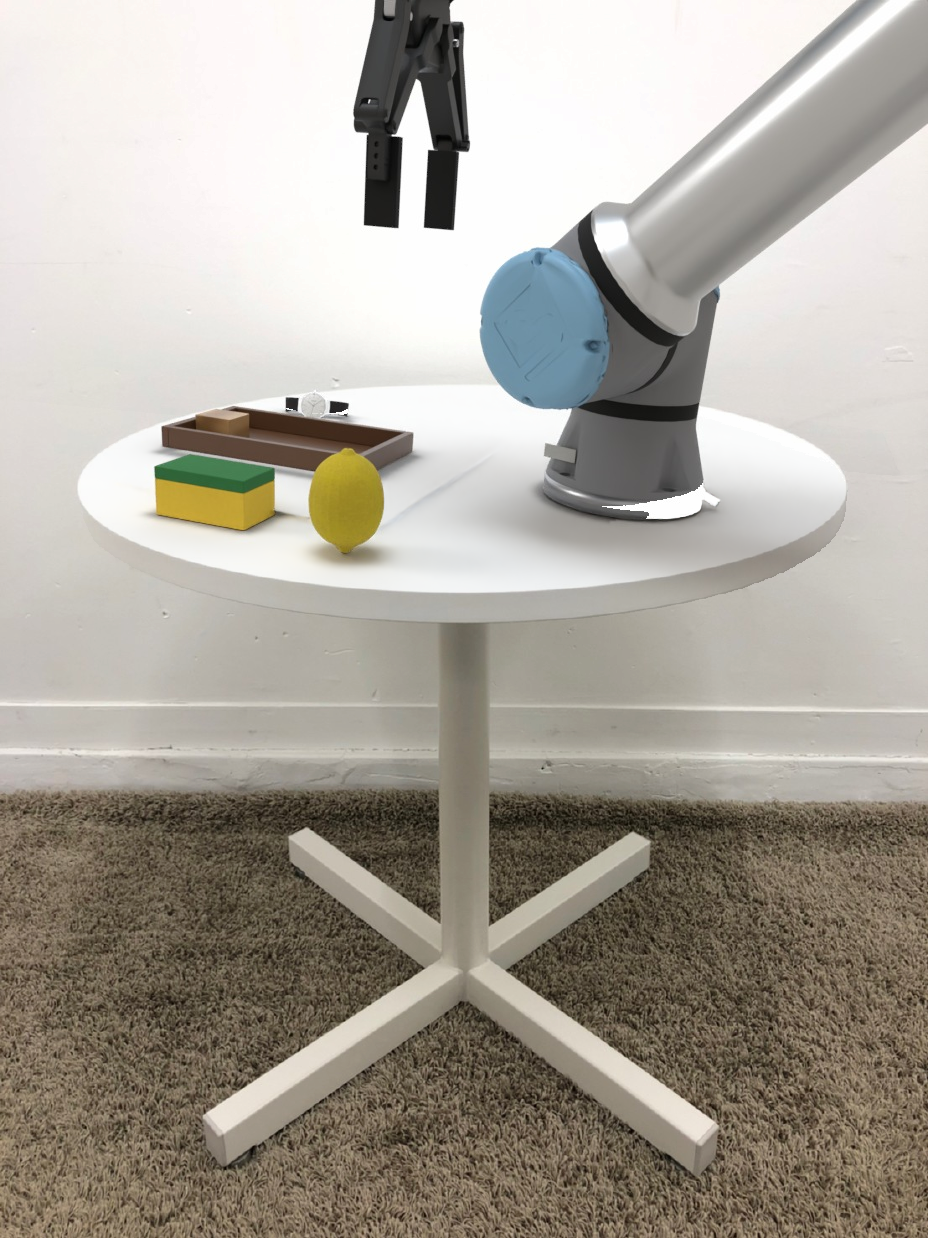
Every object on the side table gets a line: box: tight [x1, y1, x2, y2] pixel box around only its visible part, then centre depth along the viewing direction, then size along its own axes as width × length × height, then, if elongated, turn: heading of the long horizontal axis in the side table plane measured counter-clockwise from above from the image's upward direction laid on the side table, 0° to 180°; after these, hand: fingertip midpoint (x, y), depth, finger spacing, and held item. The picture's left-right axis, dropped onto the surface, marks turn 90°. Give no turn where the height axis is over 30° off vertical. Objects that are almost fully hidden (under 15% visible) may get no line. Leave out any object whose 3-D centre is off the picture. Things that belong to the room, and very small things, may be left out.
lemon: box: [308, 448, 385, 554], centre depth 71 cm, size 6×6×8 cm
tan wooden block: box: [194, 408, 249, 438], centre depth 101 cm, size 4×4×2 cm
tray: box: [161, 405, 414, 473], centre depth 99 cm, size 22×14×3 cm, turn 72°
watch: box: [285, 389, 350, 419], centre depth 117 cm, size 8×5×4 cm, turn 85°
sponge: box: [153, 453, 276, 531], centre depth 78 cm, size 5×8×4 cm, turn 72°
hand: (412, 228), depth 83 cm, fingers open, 13 cm apart
